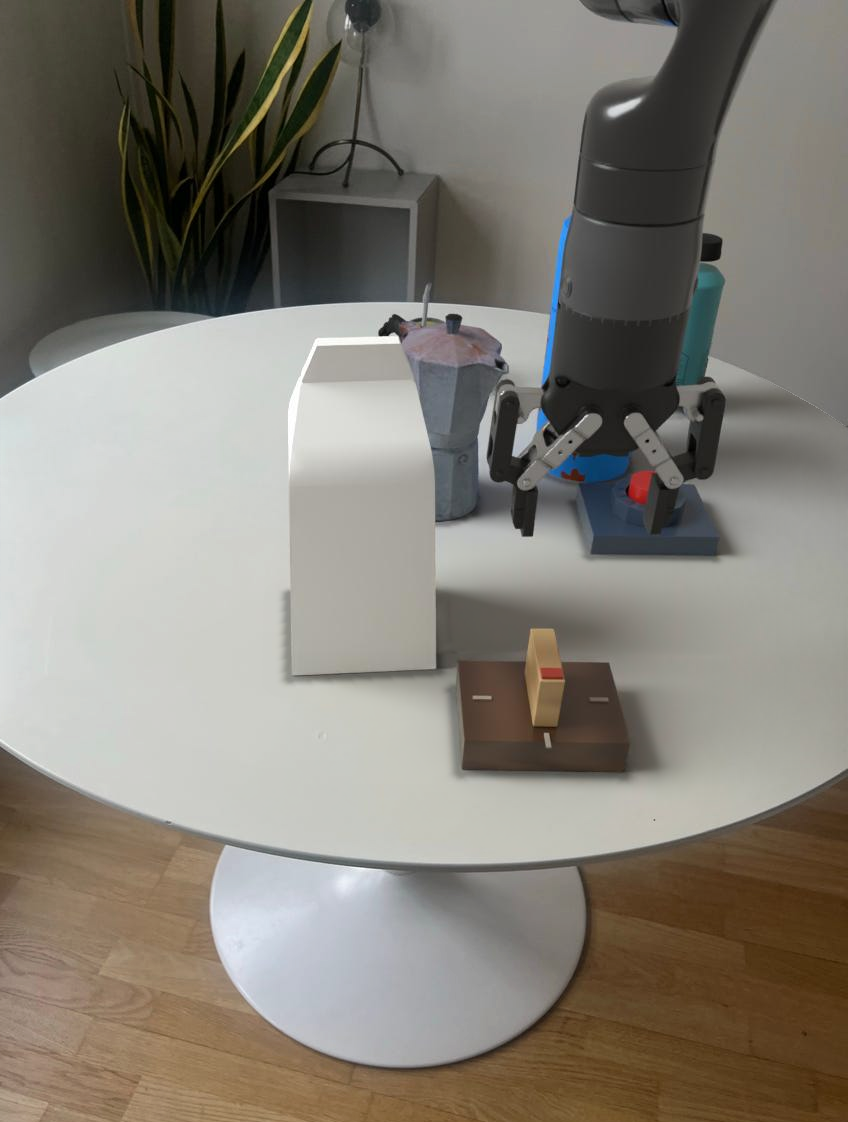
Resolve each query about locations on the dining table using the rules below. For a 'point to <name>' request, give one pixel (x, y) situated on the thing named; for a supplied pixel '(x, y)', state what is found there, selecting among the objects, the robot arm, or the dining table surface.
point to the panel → (515, 744)
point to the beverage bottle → (702, 314)
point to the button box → (622, 530)
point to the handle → (544, 677)
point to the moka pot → (451, 400)
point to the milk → (360, 512)
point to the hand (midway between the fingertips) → (587, 529)
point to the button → (640, 486)
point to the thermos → (574, 465)
